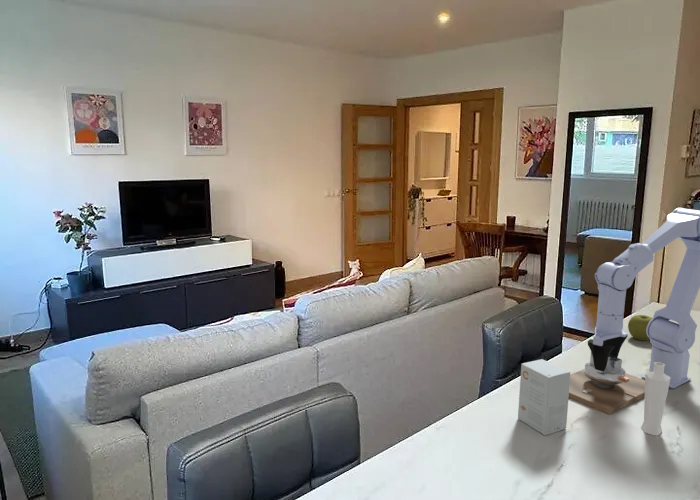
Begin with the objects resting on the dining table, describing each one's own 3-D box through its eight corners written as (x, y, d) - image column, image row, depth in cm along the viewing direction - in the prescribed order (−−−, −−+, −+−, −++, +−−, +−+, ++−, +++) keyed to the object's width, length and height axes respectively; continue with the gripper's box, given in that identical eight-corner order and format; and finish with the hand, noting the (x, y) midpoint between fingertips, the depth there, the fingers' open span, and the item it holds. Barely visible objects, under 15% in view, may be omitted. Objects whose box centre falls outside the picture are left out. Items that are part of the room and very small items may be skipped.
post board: (597, 367, 144) (598, 357, 144) (659, 389, 131) (660, 378, 130) (547, 388, 132) (548, 376, 131) (609, 414, 119) (611, 402, 118)
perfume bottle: (667, 437, 110) (676, 369, 107) (644, 435, 110) (652, 367, 108) (659, 426, 114) (667, 360, 111) (637, 424, 115) (645, 358, 112)
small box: (566, 429, 113) (571, 371, 110) (544, 436, 110) (549, 377, 108) (538, 412, 120) (542, 358, 118) (516, 418, 117) (520, 363, 115)
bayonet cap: (576, 372, 133) (578, 351, 132) (602, 366, 137) (604, 346, 136) (612, 390, 123) (615, 368, 122) (640, 383, 127) (642, 362, 126)
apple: (660, 343, 162) (663, 320, 161) (634, 343, 162) (636, 320, 161) (647, 334, 169) (649, 313, 168) (622, 334, 170) (624, 313, 168)
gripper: (617, 323, 120) (612, 379, 123) (638, 309, 130) (632, 361, 133) (585, 316, 125) (581, 370, 127) (607, 303, 135) (603, 353, 138)
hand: (605, 365), depth 130 cm, fingers open, 7 cm apart
